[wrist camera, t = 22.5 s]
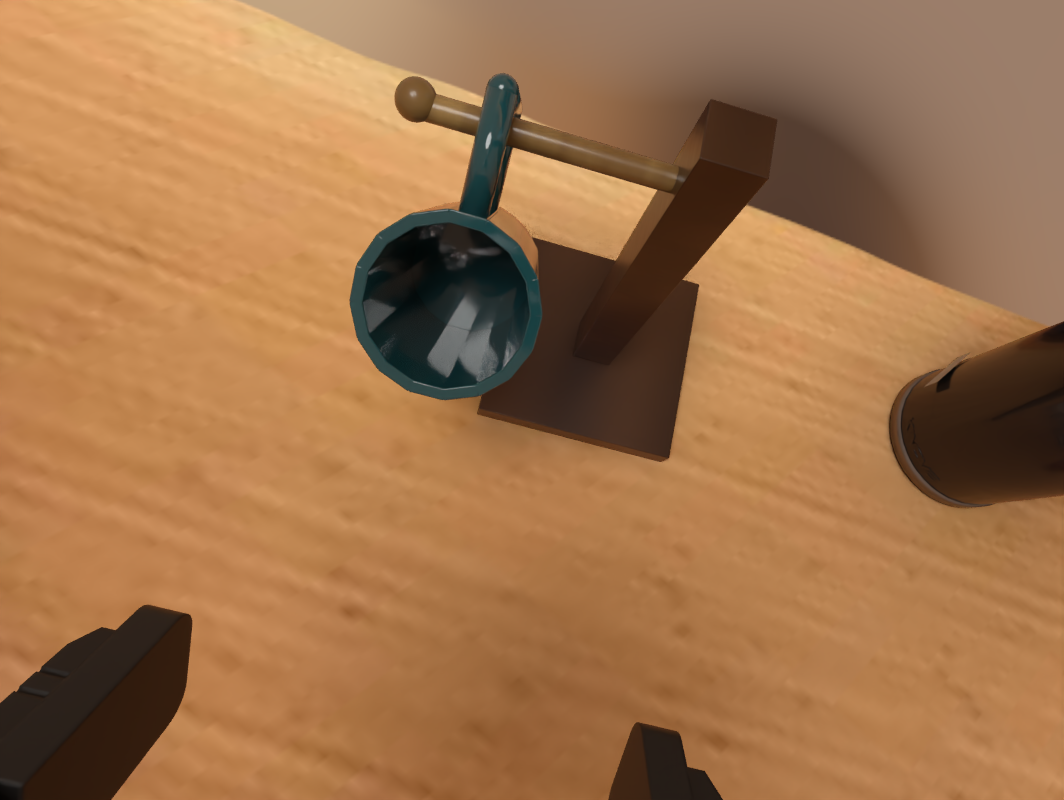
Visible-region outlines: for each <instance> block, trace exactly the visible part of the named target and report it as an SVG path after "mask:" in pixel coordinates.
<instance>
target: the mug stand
mask: <svg viewBox="0 0 1064 800" xmlns="http://www.w3.org/2000/svg"><path fill="white" fill-rule="evenodd" d="M395 105H396V107H397V110H398V111H399V113H400V114H401V115H402V116H403V117H404V118H405V119H407V120H409V121H411V122H416V123H419V122H424V121H425V122H428V123H432V124H435V125H438V126H442V127H445V128H449V129H452V130H455V131H459V132H462V133H466V134H469V135H472V136H475V135H476V130H477V126H478V122H479V117H480V113H481V109H482V107H478V106H475V105H472V104H468V103H465V102H461V101H458V100H455V99H451V98H448V97H445V96H441V95H438V94H436V92H435V90H434V88H433V87H432V85H431V84H430V83H429V82H428V81H427V80H425V79H423V78H421V77H414V76H413V77H408V78H406V79H404V80H403V81H401V82H400V84H399V85H398V86H397V89H396V91H395ZM776 126H777V119H775V118H771V117H768V116H765V115H762V114H759V113H755V112H752V111H749V110H746V109H742V108H739V107H736V106H732V105H729V104H726V103H722V102H719V101H716V100H713V99H711V100H710V101H709V103H708V105H707V106H706V108H705V110H704V112H703V113H702V115H701V117H700V119H699V120H698V122H697V123H696V125H695V127H694V129H693V131H692V132H691V134H690V135H689V137H688V139H687V140H686V142H685V144H684V146H683V148H682V149H681V151H680V152H679V154H678V156H677V158H676V159H675V161H674V163H673V164H670V163H667V162H663V161H660V160H657V159H653V158H650V157H647V156H643V155H640V154H636V153H633V152H630V151H626V150H623V149H620V148H616V147H613V146H610V145H606V144H603V143H599V142H596V141H593V140H589V139H586V138H582V137H579V136H576V135H573V134H569V133H566V132H562V131H559V130H556V129H552V128H549V127H546V126H542V125H539V124H536V123H532V122H529V121H525V120H522V119H519V118H515V117H513V120H512V124H511V128H510V132H509V136H508V140H507V146H510V147H513V148H517V149H520V150H524V151H527V152H530V153H534V154H537V155H541V156H544V157H547V158H551V159H554V160H558V161H561V162H564V163H568V164H571V165H575V166H578V167H581V168H585V169H588V170H592V171H595V172H599V173H602V174H605V175H609V176H612V177H616V178H619V179H622V180H626V181H629V182H633V183H636V184H639V185H643V186H646V187H650V188H653V189H656V190H657V192H656V193H655V195H654V197H653V198H652V200H651V202H650V204H649V205H648V207H647V209H646V210H645V212H644V214H643V215H642V217H641V219H640V221H639V222H638V224H637V226H636V227H635V229H634V231H633V233H632V234H631V236H630V238H629V239H628V241H627V243H626V244H625V246H624V248H623V250H622V251H621V253H620V255H619V256H618V258H617V260H616V261H614V260H611V259H607V258H603V257H600V256H596V255H593V254H589V253H586V252H582V251H579V250H575V249H572V248H568V247H565V246H561V245H558V244H554V243H550V242H547V241H543V240H540V239H536V238H533V237H532V239H533V241H534V243H535V245H536V247H537V250H538V255H539V262H540V271H541V285H542V307H543V318H542V321H541V325H540V328H539V332H538V335H537V339H536V342H535V346H534V349H533V351H532V353H531V354H530V356H529V357H528V358H527V359H526V361H525V362H524V363H523V364H522V366H521V367H520V368H519V369H518V371H517V372H516V373H515V374H514V376H513V377H512V378H511V379H510V380H508V381H506V382H504V383H503V384H501V385H499V386H497V387H495V388H494V389H492V390H490V391H488V392H486V393H484V394H483V395H482V397H481V401H480V405H479V409H478V413H477V414H478V415H482V416H486V417H490V418H494V419H498V420H502V421H505V422H509V423H513V424H517V425H521V426H525V427H528V428H532V429H536V430H540V431H544V432H548V433H552V434H555V435H559V436H563V437H567V438H571V439H575V440H579V441H582V442H586V443H590V444H594V445H598V446H602V447H605V448H609V449H613V450H617V451H621V452H625V453H629V454H632V455H636V456H640V457H644V458H648V459H652V460H655V461H659V462H662V461H664V460H666V459H668V458H669V455H670V449H671V443H672V437H673V432H674V426H675V420H676V414H677V409H678V403H679V397H680V391H681V386H682V380H683V374H684V368H685V363H686V357H687V351H688V345H689V340H690V334H691V328H692V322H693V317H694V311H695V305H696V299H697V294H698V288H699V284H695V283H692V282H688V281H685V280H682V279H683V278H684V277H685V276H686V275H687V274H688V272H689V271H690V270H691V269H692V268H693V267H694V265H695V264H696V263H697V262H698V261H699V260H700V258H701V257H702V256H703V255H704V254H705V253H706V251H707V250H708V249H709V248H710V247H711V246H712V244H713V243H714V242H715V241H716V240H717V238H718V237H719V236H720V235H721V234H722V233H723V231H724V230H725V229H726V228H727V227H728V226H729V224H730V223H731V222H732V221H733V220H734V219H735V217H736V216H737V215H738V214H739V213H740V212H741V210H742V209H743V208H744V207H745V206H746V205H747V203H748V202H749V201H750V200H751V199H752V198H753V196H754V195H755V194H756V193H757V192H758V190H759V189H760V188H761V187H762V186H763V185H764V183H765V182H766V181H767V180H768V179H769V173H770V166H771V159H772V153H773V145H774V139H775V132H776Z"/></svg>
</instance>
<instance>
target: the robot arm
mask: <svg viewBox="0 0 1064 800" xmlns="http://www.w3.org/2000/svg"><path fill="white" fill-rule="evenodd" d="M970 353H971V352H970ZM968 354H969V353H968ZM968 354H965V355H963V356H961V357H958V358H956V359H955V360H954V361H953V362H952V363H951V364H949V365H948V366H947V367H946V368H943V369H939V370H935V371H932V372H929V373H927V374H924V375H922V376H919V377H917V378H915V379H914V380H912V381H911V382H910V383H908V384H907V385H906V386H905V387H904V388H903V389H902V391H901V392H900V393H899V395H898V397H897V398H896V400H895V403H894V405H893V408H892V412H891V418H890V434H891V441H892V445H893V449H894V452H895V454H896V457H897V459H898V461H899V463H900V465H901V467H902V469H903V470H904V472H905V473H906V475H907V476H908V477H909V478H910V480H911V481H912V482H913V483H914V484H915V485H916V486H917V487H918V488H919V489H920V490H921V491H923V492H924V493H925V494H927V495H928V496H930V497H931V498H933V499H935V500H937V501H939V502H941V503H943V504H946V505H949V506H953V507H959V508H973V507H982V506H988V505H992V504H995V503H1002V502H1010V501H1022V500H1030V499H1039V498H1047V497H1056V496H1064V322H1061V323H1059V324H1056V325H1053V326H1051V327H1048V328H1046V329H1043V330H1041V331H1038V332H1036V333H1033V334H1031V335H1028V336H1025V337H1023V338H1020V339H1018V340H1015V341H1013V342H1010V343H1008V344H1005V345H1003V346H1000V347H997V348H995V349H992V350H990V351H987V352H985V353H982V354H980V355H977V356H975V357H972V358H969V359H967V360H964V361H962V360H963V359H964V358H965V357H966V356H967V355H968ZM960 361H961V362H960ZM191 633H192V618H191V616H190V615H189V614H186V613H181V612H177V611H173V610H169V609H165V608H160V607H156V606H152V605H144V606H142V607H140V608H139V609H138V610H137V611H136V612H135V613H134V614H133V615H132V616H131V617H129V618H128V619H127V620H126V621H125V622H124V623H123V624H122V625H121V626H120V627H119V628H118V629H117V630H112V629H108V628H103V627H101V628H99V629H97V630H95V631H93V632H91V633H89V634H87V635H85V636H83V637H81V638H79V639H77V640H75V641H73V642H71V643H69V644H67V645H66V646H65V647H64V648H62V649H61V650H60V651H59V652H58V653H57V654H56V655H55V656H53V657H52V658H51V659H50V660H49V661H48V662H47V663H45V664H44V665H43V666H42V667H41V670H40V671H39V672H35V673H34V674H33V675H32V676H31V677H30V678H28V679H27V680H26V681H25V682H24V683H23V684H22V685H20V687H19V689H18V691H17V692H15V691H14V692H13V693H11V694H10V695H9V696H8V697H7V698H6V699H5V700H3V701H2V702H1V703H0V800H111V799H112V798H113V797H114V795H115V794H116V793H117V791H118V790H119V789H120V788H121V786H122V785H123V784H124V782H125V781H126V780H127V778H128V777H129V776H130V774H131V773H132V772H133V771H134V769H135V768H136V767H137V765H138V764H139V763H140V761H141V760H142V759H143V758H144V756H145V755H146V754H147V752H148V751H149V750H150V748H151V747H152V746H153V744H154V743H155V742H156V741H157V739H158V738H159V737H160V735H161V734H162V733H163V731H164V730H165V729H166V727H167V726H168V725H169V723H170V722H171V721H172V719H173V717H174V716H175V714H176V712H177V710H178V708H179V706H180V703H181V701H182V698H183V696H184V692H185V688H186V683H187V673H188V663H189V653H190V643H191ZM609 800H723V799H722V798H721V796H720V794H719V793H718V791H717V790H716V788H715V787H714V785H713V783H712V782H711V780H710V779H709V777H708V776H707V774H706V772H705V771H702V770H698V769H693V768H689V767H687V763H686V759H685V754H684V749H683V744H682V740H681V736H680V734H679V733H678V732H677V731H673V730H669V729H664V728H660V727H656V726H652V725H648V724H643V723H639V722H636V723H635V724H634V726H633V728H632V730H631V733H630V736H629V738H628V741H627V744H626V747H625V750H624V753H623V755H622V758H621V761H620V764H619V767H618V769H617V772H616V775H615V778H614V781H613V784H612V787H611V790H610V795H609Z"/></svg>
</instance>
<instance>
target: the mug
mask: <svg viewBox="0 0 1064 800" xmlns="http://www.w3.org/2000/svg"><path fill="white" fill-rule="evenodd" d="M521 113H522V103H521V98H520V93H519V88H518V84H517V82H516V81H515V79H514V78H513V77H512V76H510V75H508V74H505V73H500V74H496V75H494V76H493V77H492V78H491V79H490V80H489V82H488V84H487V87H486V91H485V96H484V100H483V104H482V109H481V113H480V117H479V122H478V126H477V130H476V135H475V139H474V143H473V148H472V152H471V157H470V161H469V165H468V170H467V174H466V178H465V183H464V187H463V191H462V196H461V200H460V202H453V203H447V204H443V205H440V206H436V207H432V208H429V209H425V210H421V211H418V212H414V213H411V214H409V215H407V216H405V217H404V218H402V219H400V220H399V221H397V222H395V223H394V224H392V225H391V226H389V227H387V228H386V229H384V230H382V231H381V232H379V233H378V234H377V235H376V236H375V238H374V239H373V241H372V242H371V244H370V245H369V247H368V248H367V250H366V251H365V252H364V254H363V255H362V257H361V258H360V260H359V261H358V263H357V265H356V268H355V274H354V279H353V284H352V290H351V295H350V308H351V312H352V317H353V322H354V326H355V331H356V336H357V338H358V341H359V342H360V344H361V345H362V347H363V348H364V350H365V351H366V353H367V354H368V356H369V357H370V359H371V360H372V362H373V363H374V365H375V366H376V368H377V369H379V371H380V372H382V373H383V374H384V375H386V376H387V377H389V378H390V379H392V380H393V381H394V382H396V383H397V384H399V385H400V386H401V387H403V388H404V389H406V390H407V391H408V390H409V391H410V392H413V393H417V394H421V395H425V396H428V397H432V398H436V399H440V400H452V399H460V398H469V397H477V396H481V395H483V394H484V393H486V392H488V391H490V390H492V389H494V388H495V387H497V386H499V385H501V384H503V383H504V382H506V381H508V380H510V379H511V378H512V377H513V376H514V374H515V373H516V372H517V371H518V369H519V368H520V367H521V366H522V364H523V363H524V362H525V361H526V359H527V358H528V357H529V356H530V354H531V353H532V351H533V349H534V346H535V342H536V339H537V335H538V332H539V328H540V325H541V321H542V318H543V307H542V285H541V271H540V262H539V255H538V250H537V247H536V245H535V243H534V241H533V239H532V237H531V235H530V234H529V232H528V231H527V229H526V227H525V226H524V225H523V224H522V223H521V222H520V221H519V220H518V219H517V218H516V217H515V216H513V215H512V214H511V213H509V212H508V211H506V210H505V209H503V208H501V207H499V202H500V198H501V194H502V190H503V186H504V182H505V178H506V174H507V170H508V166H509V162H510V158H511V154H512V149H513V147H510V146H507V140H508V136H509V132H510V128H511V124H512V120H513V117H515V118H519V119H520V117H521Z"/></svg>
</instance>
